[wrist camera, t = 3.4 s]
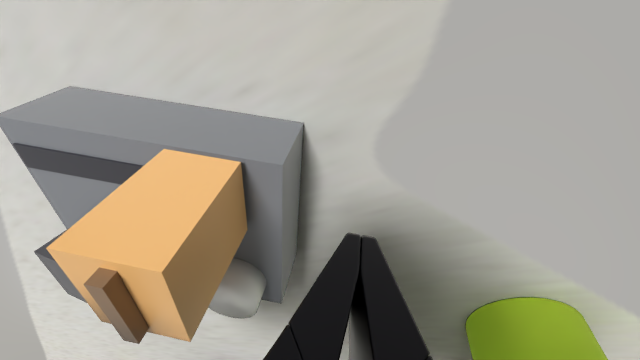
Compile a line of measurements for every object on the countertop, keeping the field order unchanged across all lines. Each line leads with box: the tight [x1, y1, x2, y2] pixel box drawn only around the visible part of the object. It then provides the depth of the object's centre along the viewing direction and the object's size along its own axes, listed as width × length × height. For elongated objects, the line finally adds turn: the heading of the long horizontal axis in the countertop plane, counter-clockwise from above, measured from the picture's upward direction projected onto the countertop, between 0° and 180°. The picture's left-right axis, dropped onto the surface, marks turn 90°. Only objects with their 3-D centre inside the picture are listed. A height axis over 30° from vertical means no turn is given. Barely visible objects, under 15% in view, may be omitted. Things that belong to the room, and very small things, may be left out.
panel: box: [0, 86, 303, 318], centre depth 12 cm, size 8×10×4 cm
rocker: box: [34, 229, 87, 303], centre depth 12 cm, size 3×4×2 cm
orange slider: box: [46, 149, 248, 344], centre depth 8 cm, size 3×2×4 cm
